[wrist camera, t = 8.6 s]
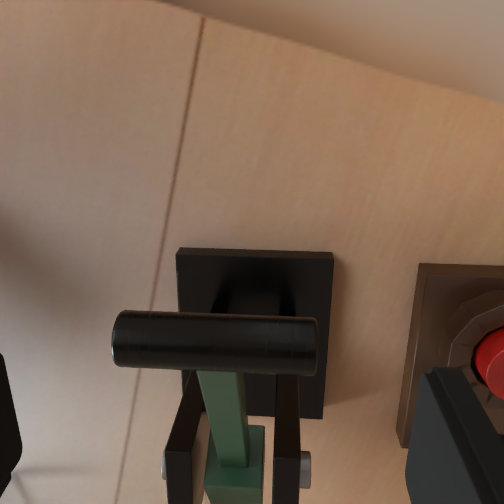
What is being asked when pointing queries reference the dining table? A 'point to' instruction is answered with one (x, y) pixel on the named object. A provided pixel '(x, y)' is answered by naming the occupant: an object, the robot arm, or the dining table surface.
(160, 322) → the lever
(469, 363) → the button block
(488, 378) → the button
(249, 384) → the bracket
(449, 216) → the dining table surface
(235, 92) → the dining table surface
